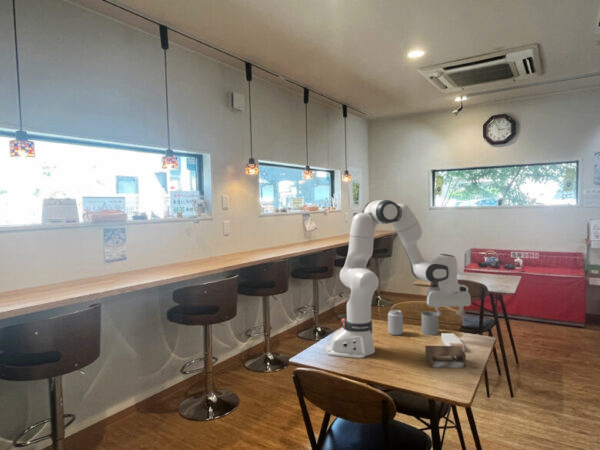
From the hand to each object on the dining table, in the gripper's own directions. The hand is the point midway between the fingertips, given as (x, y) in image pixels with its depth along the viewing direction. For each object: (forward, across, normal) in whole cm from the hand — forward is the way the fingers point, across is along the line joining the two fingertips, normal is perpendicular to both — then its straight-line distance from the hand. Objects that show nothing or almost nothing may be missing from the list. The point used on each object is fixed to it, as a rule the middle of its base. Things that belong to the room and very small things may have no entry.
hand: (448, 315), depth 186 cm
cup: (+13, -6, +11) cm, 18 cm away
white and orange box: (+12, -1, -7) cm, 14 cm away
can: (+12, -24, +9) cm, 29 cm away
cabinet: (+12, -10, -27) cm, 31 cm away
